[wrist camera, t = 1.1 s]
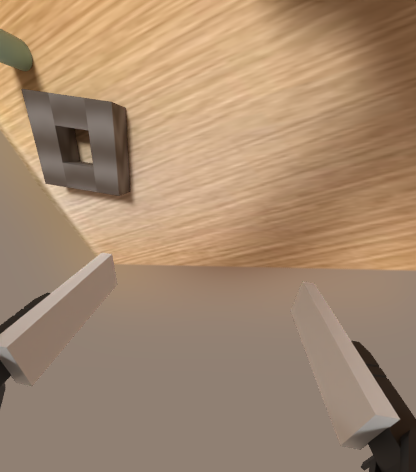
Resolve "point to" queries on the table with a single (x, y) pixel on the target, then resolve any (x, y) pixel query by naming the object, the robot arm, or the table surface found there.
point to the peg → (14, 52)
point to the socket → (65, 145)
